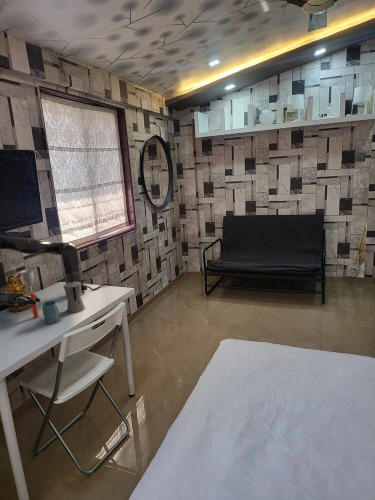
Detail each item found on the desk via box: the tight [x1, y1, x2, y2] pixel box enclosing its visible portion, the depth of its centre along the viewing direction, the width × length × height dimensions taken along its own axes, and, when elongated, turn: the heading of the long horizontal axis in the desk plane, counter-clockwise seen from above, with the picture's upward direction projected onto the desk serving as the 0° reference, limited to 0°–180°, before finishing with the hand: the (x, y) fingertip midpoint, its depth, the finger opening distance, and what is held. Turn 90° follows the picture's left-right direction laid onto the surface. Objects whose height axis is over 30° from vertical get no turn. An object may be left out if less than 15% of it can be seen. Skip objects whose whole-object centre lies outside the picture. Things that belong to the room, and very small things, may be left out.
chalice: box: [20, 268, 35, 296], centre depth 206 cm, size 7×7×18 cm
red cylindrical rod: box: [28, 291, 40, 319], centre depth 178 cm, size 2×2×14 cm
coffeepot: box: [63, 279, 85, 314], centre depth 183 cm, size 15×9×18 cm, turn 25°
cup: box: [41, 300, 61, 325], centre depth 172 cm, size 7×7×10 cm
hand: (37, 301), depth 176 cm, fingers closed on red cylindrical rod, 2 cm apart
